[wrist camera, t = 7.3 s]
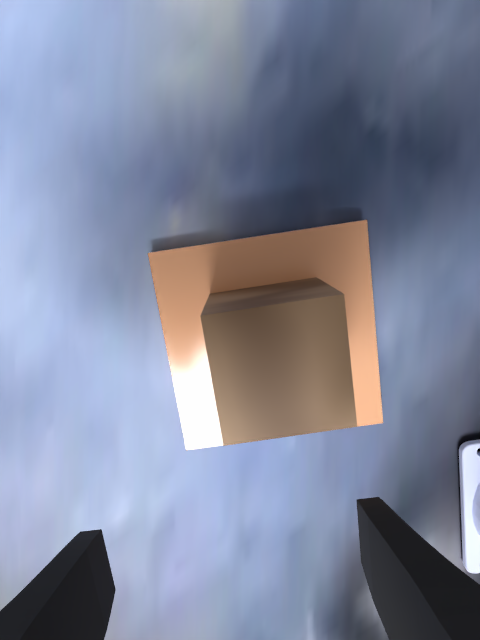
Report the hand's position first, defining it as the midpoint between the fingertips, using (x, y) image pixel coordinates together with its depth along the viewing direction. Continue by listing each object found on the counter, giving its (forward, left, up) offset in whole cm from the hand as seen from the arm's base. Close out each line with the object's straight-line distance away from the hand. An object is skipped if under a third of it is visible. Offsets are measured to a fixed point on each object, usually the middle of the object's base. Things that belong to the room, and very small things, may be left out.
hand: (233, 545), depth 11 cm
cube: (-2, -3, -9) cm, 10 cm away
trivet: (-2, -3, -10) cm, 11 cm away
